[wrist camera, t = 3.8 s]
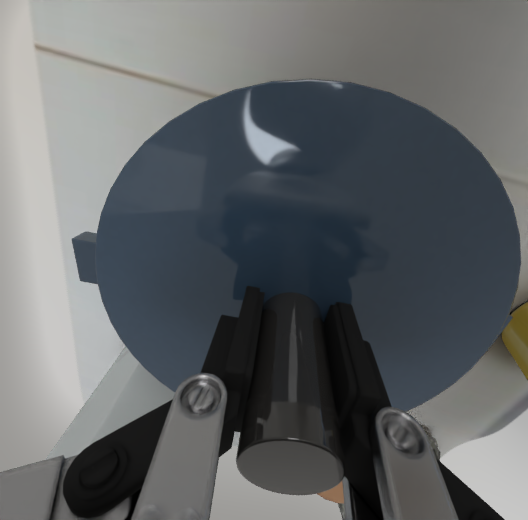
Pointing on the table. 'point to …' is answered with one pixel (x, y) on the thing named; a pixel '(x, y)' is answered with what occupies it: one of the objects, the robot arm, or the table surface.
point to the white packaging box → (113, 405)
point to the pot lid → (308, 255)
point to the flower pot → (518, 337)
